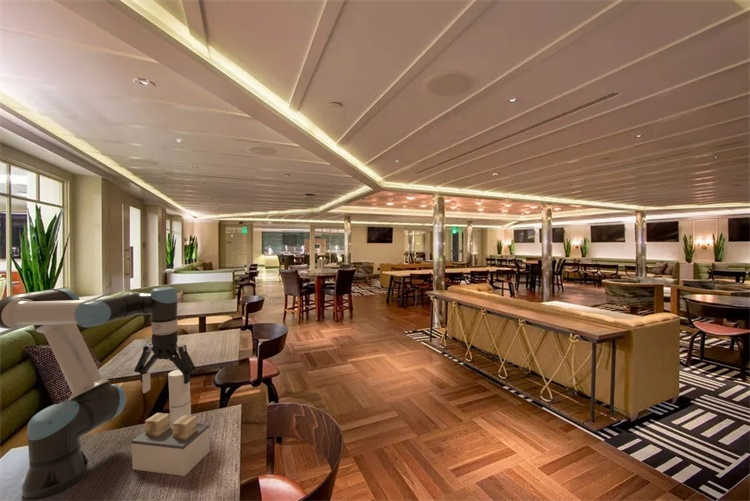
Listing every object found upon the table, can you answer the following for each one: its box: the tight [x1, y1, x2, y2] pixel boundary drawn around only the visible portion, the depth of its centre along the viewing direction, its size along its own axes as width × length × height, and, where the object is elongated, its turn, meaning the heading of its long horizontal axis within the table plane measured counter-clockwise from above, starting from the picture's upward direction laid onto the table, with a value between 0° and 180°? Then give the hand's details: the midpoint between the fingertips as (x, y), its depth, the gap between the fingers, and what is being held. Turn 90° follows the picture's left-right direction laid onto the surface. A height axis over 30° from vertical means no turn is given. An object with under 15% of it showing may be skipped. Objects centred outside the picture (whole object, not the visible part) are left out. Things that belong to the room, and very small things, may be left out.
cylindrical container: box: [167, 368, 192, 421], centre depth 125 cm, size 7×7×25 cm
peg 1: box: [144, 412, 170, 437], centre depth 111 cm, size 5×5×8 cm
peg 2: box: [173, 415, 198, 440], centre depth 109 cm, size 5×5×8 cm
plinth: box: [130, 421, 211, 477], centre depth 110 cm, size 20×12×10 cm, turn 80°
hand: (165, 391), depth 109 cm, fingers open, 13 cm apart
